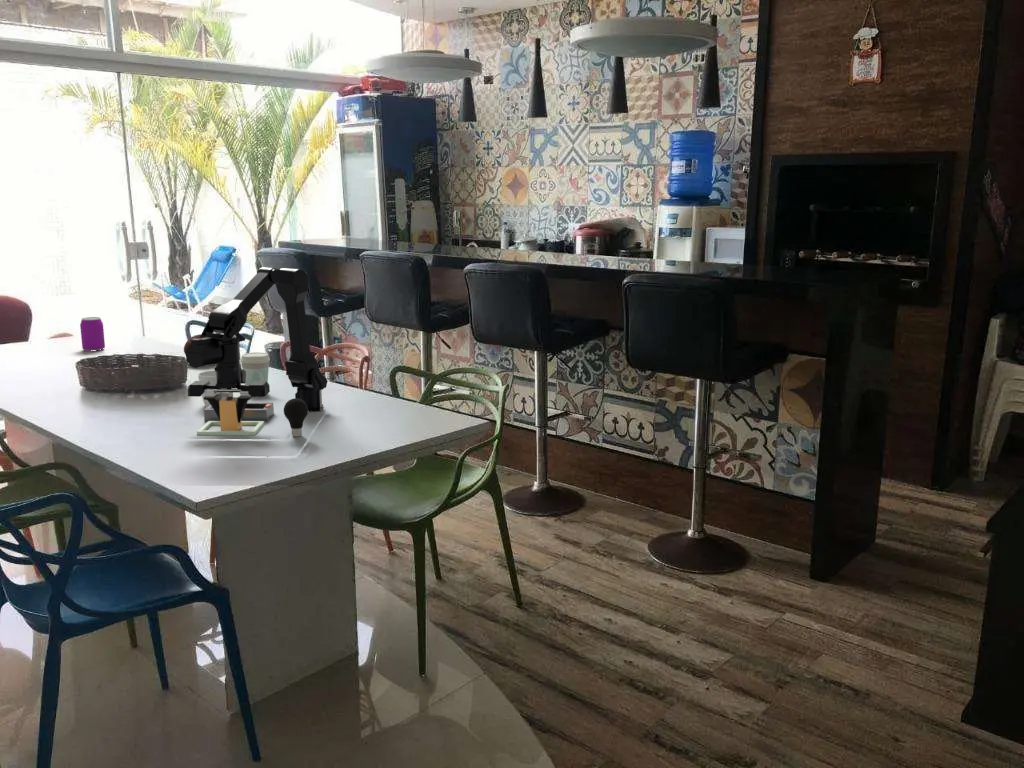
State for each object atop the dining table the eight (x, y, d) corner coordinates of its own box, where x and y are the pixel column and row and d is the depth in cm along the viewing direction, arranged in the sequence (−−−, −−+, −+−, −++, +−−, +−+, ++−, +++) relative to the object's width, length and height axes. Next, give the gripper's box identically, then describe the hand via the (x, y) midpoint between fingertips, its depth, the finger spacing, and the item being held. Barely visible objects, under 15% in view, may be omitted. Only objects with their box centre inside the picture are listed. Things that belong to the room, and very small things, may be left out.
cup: (221, 413, 233) (219, 377, 231) (194, 411, 235) (192, 375, 233) (236, 406, 241) (234, 371, 239) (210, 404, 243) (208, 369, 240)
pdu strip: (273, 417, 230) (273, 401, 229) (267, 424, 222) (266, 408, 221) (213, 416, 229) (212, 401, 228) (204, 424, 221) (203, 408, 220)
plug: (241, 428, 216) (239, 395, 214) (237, 432, 212) (235, 398, 210) (225, 427, 216) (223, 394, 214) (221, 432, 212) (219, 398, 210)
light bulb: (296, 442, 207) (295, 402, 205) (279, 438, 210) (278, 399, 208) (314, 437, 212) (312, 398, 210) (297, 433, 215) (295, 394, 213)
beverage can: (77, 351, 317) (74, 319, 314) (91, 347, 324) (88, 316, 322) (96, 352, 316) (93, 320, 313) (109, 348, 323) (106, 317, 320)
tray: (264, 427, 219) (264, 421, 219) (255, 438, 210) (254, 431, 209) (209, 427, 219) (208, 420, 218) (197, 438, 209) (196, 431, 208)
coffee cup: (235, 395, 253) (233, 355, 251) (254, 389, 261) (252, 351, 259) (259, 398, 250) (257, 358, 248) (277, 392, 258) (275, 353, 256)
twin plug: (234, 415, 227) (232, 386, 226) (230, 419, 223) (228, 390, 222) (218, 415, 227) (217, 386, 225) (214, 418, 223) (212, 389, 222)
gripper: (273, 355, 218) (275, 414, 222) (199, 354, 217) (202, 414, 221) (263, 363, 208) (265, 425, 211) (184, 363, 207) (189, 425, 210)
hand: (230, 422), depth 213 cm, fingers closed on plug, 4 cm apart
